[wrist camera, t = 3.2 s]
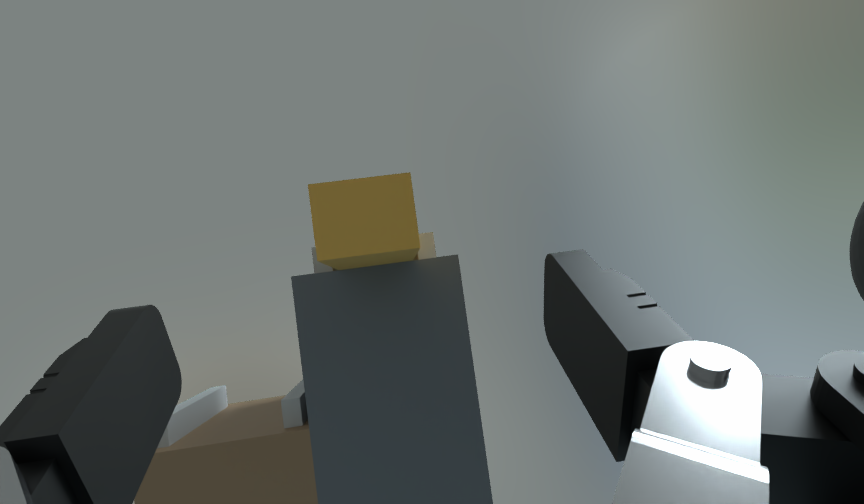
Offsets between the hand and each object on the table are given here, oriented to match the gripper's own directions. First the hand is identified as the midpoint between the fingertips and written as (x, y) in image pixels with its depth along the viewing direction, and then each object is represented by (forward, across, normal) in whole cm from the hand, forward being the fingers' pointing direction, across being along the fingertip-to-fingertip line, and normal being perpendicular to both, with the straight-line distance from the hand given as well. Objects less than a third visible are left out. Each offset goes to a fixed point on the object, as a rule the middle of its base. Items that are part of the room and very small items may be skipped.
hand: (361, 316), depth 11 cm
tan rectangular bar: (+17, 0, +8) cm, 19 cm away
